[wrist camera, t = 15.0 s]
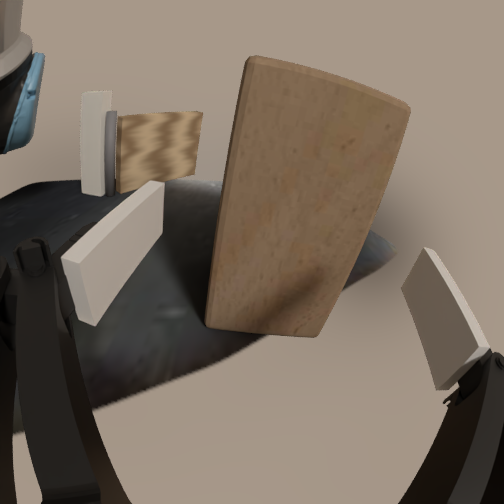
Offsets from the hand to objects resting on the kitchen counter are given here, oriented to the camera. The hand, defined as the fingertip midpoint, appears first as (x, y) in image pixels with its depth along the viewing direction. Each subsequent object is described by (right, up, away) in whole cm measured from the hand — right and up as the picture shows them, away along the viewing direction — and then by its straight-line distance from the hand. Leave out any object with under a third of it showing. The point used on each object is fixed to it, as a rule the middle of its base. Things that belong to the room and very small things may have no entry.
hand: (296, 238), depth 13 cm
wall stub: (-27, +9, +26) cm, 38 cm away
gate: (-19, +12, +33) cm, 40 cm away
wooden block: (-1, -5, +14) cm, 15 cm away
